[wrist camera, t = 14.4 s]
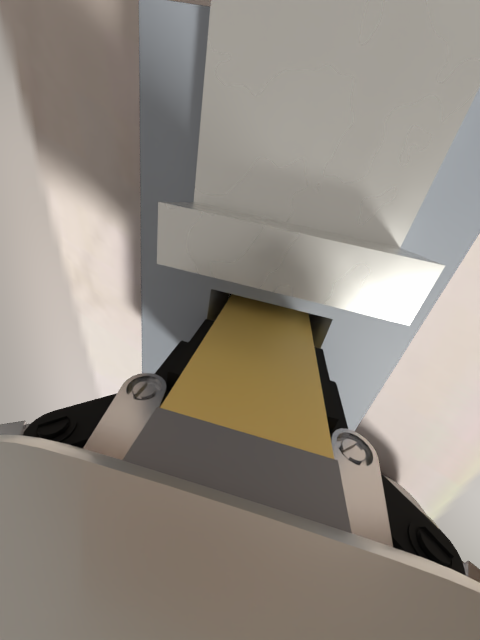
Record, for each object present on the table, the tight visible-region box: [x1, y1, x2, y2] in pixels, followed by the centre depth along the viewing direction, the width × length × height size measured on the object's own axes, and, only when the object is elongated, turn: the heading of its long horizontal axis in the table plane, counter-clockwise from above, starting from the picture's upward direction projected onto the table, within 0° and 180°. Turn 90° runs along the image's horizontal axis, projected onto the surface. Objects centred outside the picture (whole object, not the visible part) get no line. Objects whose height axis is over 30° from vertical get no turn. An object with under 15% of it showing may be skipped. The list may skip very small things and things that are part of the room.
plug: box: [123, 294, 352, 533], centre depth 9 cm, size 4×4×10 cm
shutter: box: [157, 0, 480, 325], centre depth 6 cm, size 7×7×3 cm
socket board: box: [139, 0, 480, 431], centre depth 12 cm, size 16×12×5 cm
